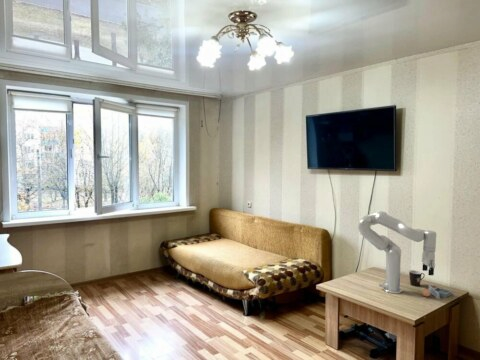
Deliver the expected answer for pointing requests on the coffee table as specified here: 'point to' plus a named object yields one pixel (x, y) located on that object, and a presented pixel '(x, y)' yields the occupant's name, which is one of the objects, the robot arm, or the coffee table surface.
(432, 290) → the fence
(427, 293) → the ball
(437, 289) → the dish
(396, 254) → the robot arm
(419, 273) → the coffee mug
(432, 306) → the coffee table surface
